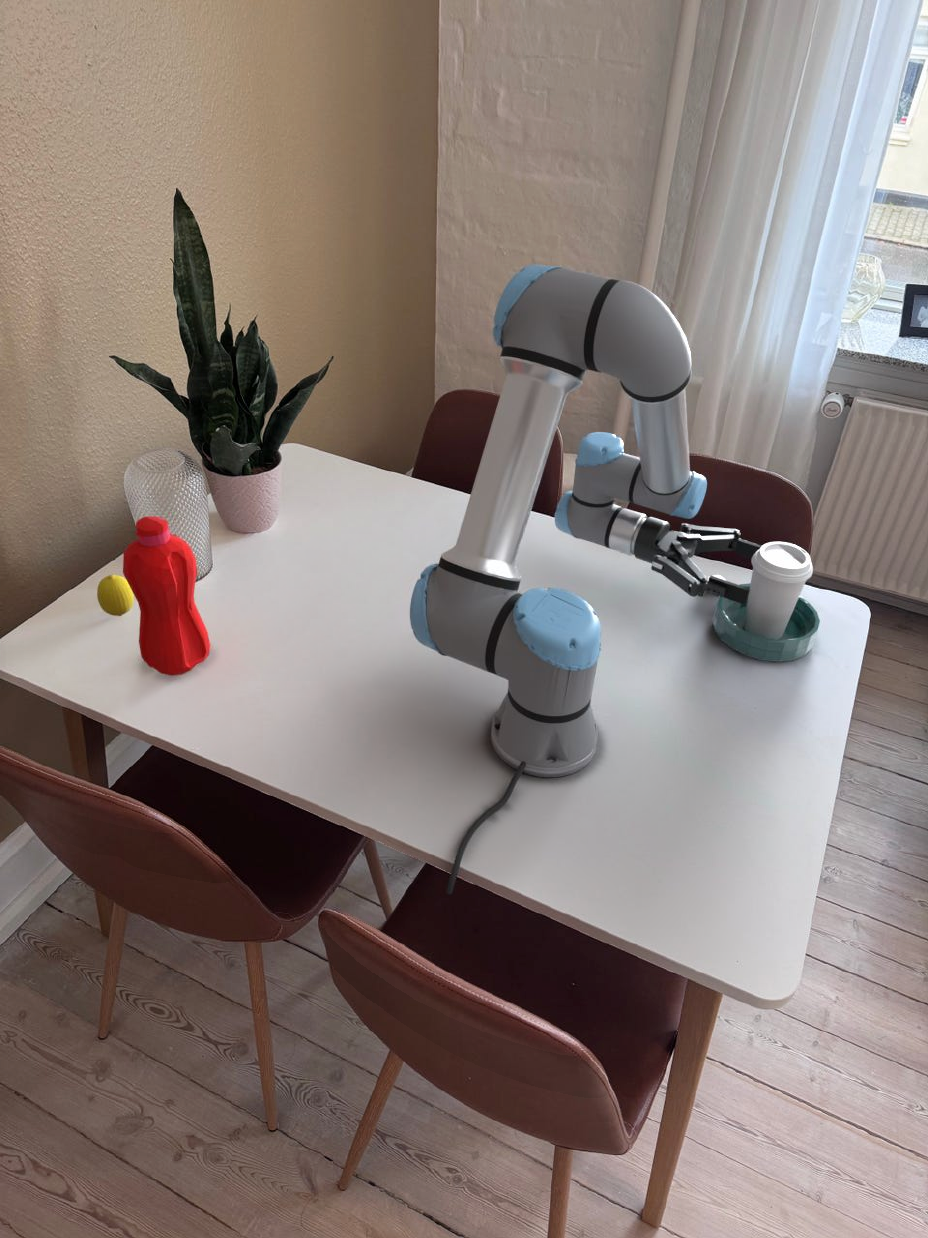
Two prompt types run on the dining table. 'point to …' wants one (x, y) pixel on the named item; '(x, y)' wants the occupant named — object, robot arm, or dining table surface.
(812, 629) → the bowl
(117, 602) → the lemon
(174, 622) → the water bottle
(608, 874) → the dining table surface
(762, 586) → the coffee cup
